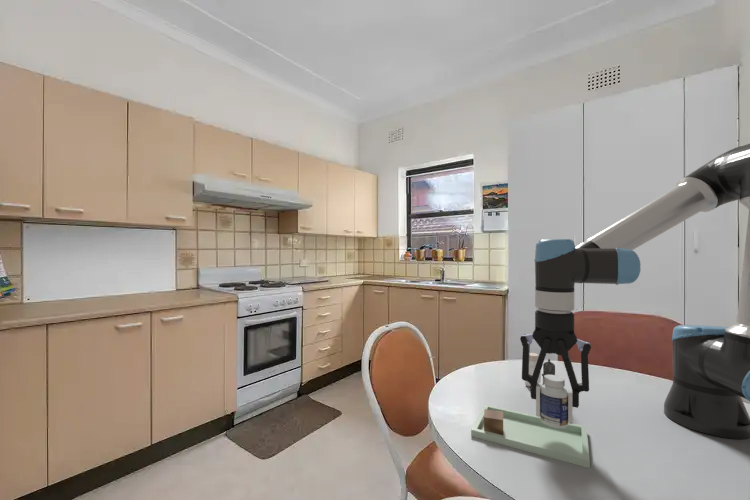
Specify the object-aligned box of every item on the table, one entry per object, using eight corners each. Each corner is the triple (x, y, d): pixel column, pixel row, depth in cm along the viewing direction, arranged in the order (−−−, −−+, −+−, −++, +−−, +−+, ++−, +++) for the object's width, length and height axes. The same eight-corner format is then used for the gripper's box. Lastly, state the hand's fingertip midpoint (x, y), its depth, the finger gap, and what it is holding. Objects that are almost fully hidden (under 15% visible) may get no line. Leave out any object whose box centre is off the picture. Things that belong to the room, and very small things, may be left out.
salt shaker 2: (565, 409, 88) (564, 362, 88) (540, 406, 89) (540, 361, 89) (557, 399, 93) (557, 356, 93) (534, 397, 95) (534, 354, 95)
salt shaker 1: (527, 381, 106) (527, 351, 106) (541, 384, 104) (541, 353, 104) (524, 385, 103) (524, 354, 103) (538, 389, 100) (538, 357, 100)
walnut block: (503, 429, 77) (502, 411, 77) (503, 438, 73) (503, 420, 73) (484, 426, 78) (484, 409, 78) (483, 435, 74) (483, 417, 74)
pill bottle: (567, 432, 69) (567, 384, 69) (538, 424, 72) (538, 379, 72) (568, 420, 74) (568, 376, 74) (541, 414, 76) (541, 371, 77)
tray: (586, 435, 75) (586, 426, 75) (589, 471, 63) (589, 460, 63) (484, 412, 86) (484, 404, 86) (471, 438, 74) (471, 429, 74)
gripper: (603, 311, 72) (603, 420, 71) (511, 304, 81) (511, 401, 81) (607, 317, 65) (607, 437, 65) (506, 309, 74) (506, 414, 74)
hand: (554, 417), depth 73 cm, fingers closed on pill bottle, 5 cm apart
